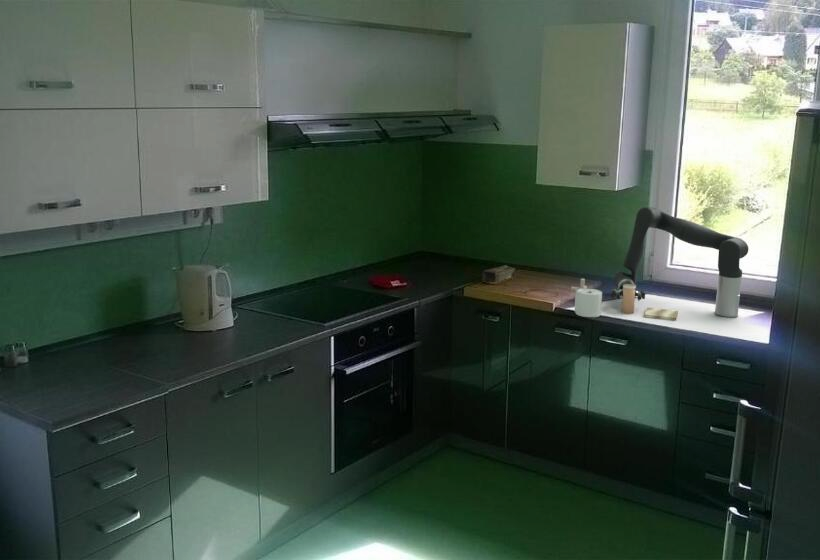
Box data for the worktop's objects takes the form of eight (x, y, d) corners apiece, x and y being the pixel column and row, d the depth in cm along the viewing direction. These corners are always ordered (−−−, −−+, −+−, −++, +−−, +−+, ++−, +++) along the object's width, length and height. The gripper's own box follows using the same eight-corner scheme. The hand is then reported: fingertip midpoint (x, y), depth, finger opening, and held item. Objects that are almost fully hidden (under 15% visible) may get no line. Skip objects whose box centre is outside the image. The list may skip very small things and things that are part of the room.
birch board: (677, 313, 352) (678, 310, 352) (676, 320, 342) (676, 317, 341) (646, 310, 357) (647, 307, 357) (644, 317, 346) (644, 314, 346)
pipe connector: (567, 301, 370) (568, 280, 368) (574, 296, 379) (575, 275, 376) (589, 304, 365) (590, 282, 363) (595, 299, 374) (596, 278, 372)
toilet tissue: (598, 318, 343) (599, 295, 341) (570, 315, 347) (571, 292, 345) (602, 312, 352) (604, 290, 350) (575, 309, 357) (576, 287, 355)
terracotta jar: (634, 311, 355) (636, 284, 352) (633, 314, 350) (635, 287, 347) (621, 310, 357) (624, 283, 354) (620, 313, 352) (622, 286, 349)
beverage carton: (515, 279, 412) (516, 266, 411) (494, 286, 398) (495, 272, 396) (502, 276, 417) (503, 264, 415) (481, 283, 403) (481, 270, 401)
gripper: (611, 279, 366) (612, 288, 350) (643, 281, 363) (646, 290, 348) (610, 295, 368) (611, 305, 352) (642, 297, 365) (645, 307, 349)
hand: (628, 297), depth 350 cm, fingers open, 8 cm apart
